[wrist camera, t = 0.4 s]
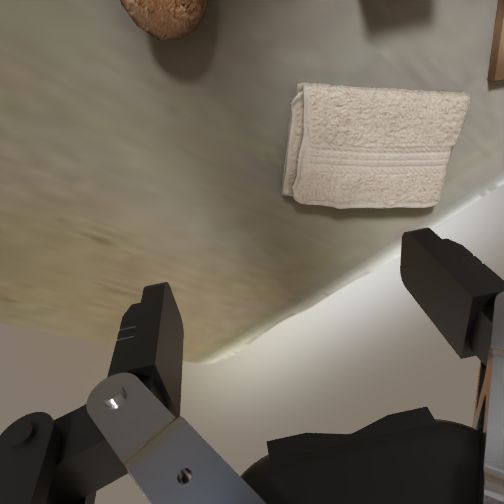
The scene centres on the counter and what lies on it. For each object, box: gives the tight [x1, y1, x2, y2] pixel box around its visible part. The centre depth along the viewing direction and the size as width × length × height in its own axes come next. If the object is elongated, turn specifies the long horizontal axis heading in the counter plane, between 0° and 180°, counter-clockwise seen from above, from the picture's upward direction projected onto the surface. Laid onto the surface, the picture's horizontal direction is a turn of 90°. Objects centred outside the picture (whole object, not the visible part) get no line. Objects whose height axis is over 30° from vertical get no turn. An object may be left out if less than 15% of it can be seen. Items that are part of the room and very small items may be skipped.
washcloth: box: [281, 82, 470, 209], centre depth 38 cm, size 12×18×3 cm, turn 87°
